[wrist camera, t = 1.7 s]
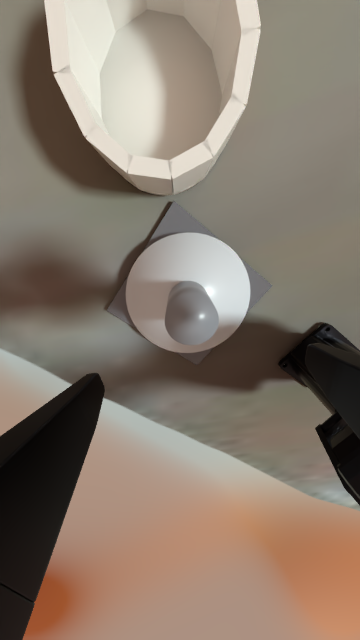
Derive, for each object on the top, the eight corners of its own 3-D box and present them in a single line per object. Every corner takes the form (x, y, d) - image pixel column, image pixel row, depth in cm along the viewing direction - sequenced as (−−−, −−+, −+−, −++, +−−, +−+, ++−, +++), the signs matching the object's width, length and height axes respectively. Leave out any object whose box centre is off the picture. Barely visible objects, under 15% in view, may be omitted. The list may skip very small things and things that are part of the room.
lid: (272, 285, 16) (311, 305, 12) (196, 365, 20) (203, 405, 15) (174, 200, 14) (172, 179, 9) (106, 310, 17) (78, 338, 12)
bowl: (258, 95, 12) (301, 18, 8) (176, 222, 15) (176, 215, 11) (138, -51, 10) (109, -271, 5) (70, 133, 12) (17, 80, 8)
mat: (270, 284, 17) (272, 285, 16) (196, 363, 20) (197, 365, 20) (174, 201, 14) (174, 200, 14) (107, 309, 18) (106, 310, 17)
